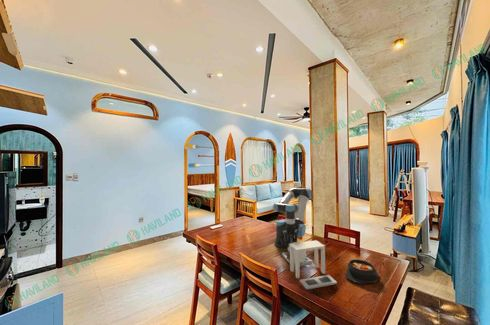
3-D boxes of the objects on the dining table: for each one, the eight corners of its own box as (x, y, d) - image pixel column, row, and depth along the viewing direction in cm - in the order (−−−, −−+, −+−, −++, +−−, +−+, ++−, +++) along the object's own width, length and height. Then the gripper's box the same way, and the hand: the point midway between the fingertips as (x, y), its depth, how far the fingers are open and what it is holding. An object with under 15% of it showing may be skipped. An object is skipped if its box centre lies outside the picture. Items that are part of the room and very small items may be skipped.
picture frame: (281, 254, 164) (281, 236, 164) (298, 252, 168) (298, 234, 168) (293, 267, 144) (292, 247, 144) (312, 264, 148) (312, 244, 148)
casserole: (366, 291, 118) (366, 277, 118) (337, 276, 134) (337, 264, 134) (385, 277, 131) (385, 265, 131) (357, 265, 147) (357, 254, 147)
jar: (308, 263, 151) (308, 244, 151) (302, 269, 144) (302, 248, 143) (295, 259, 158) (295, 240, 158) (289, 264, 151) (289, 244, 150)
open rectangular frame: (290, 270, 142) (289, 243, 142) (316, 266, 147) (316, 240, 147) (306, 289, 121) (306, 258, 121) (337, 283, 126) (336, 253, 126)
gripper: (283, 225, 159) (283, 253, 159) (301, 223, 163) (301, 251, 163) (279, 222, 166) (280, 249, 166) (297, 220, 170) (297, 247, 170)
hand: (290, 250), depth 165 cm, fingers closed on picture frame, 3 cm apart
